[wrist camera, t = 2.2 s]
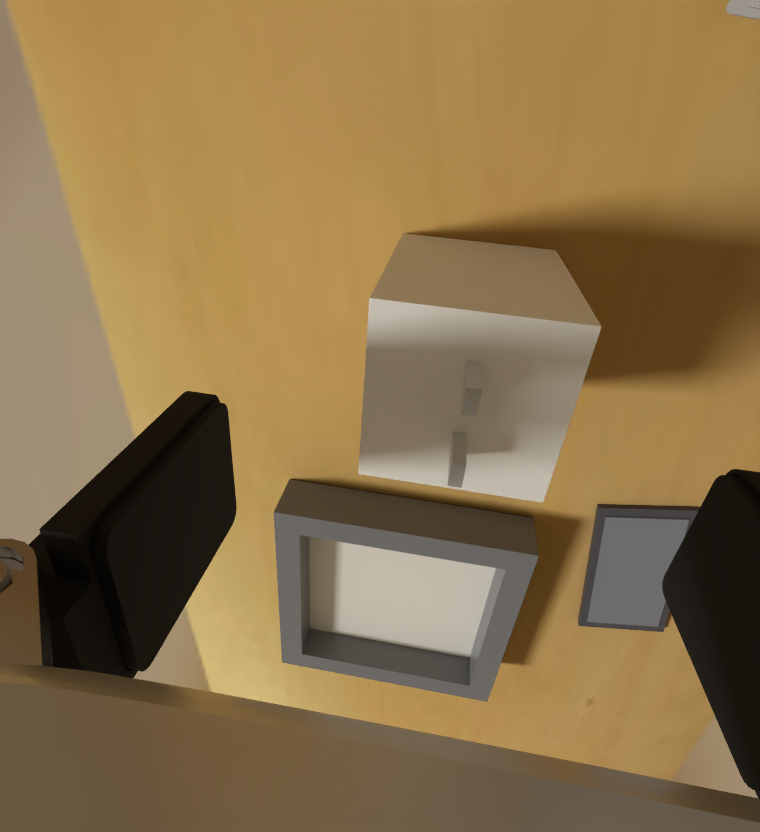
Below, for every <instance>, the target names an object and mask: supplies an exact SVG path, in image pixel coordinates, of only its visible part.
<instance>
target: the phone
mask: <svg viewBox="0 0 760 832" xmlns="http://www.w3.org/2000/svg"><path fill="white" fill-rule="evenodd" d="M698 511H699V508H698V507H692V506H651V505H611V504H597V509H596V515H595V521H594V527H593V533H592V539H591V546H590V552H589V558H588V564H587V570H586V576H585V582H584V588H583V594H582V600H581V606H580V612H579V618H578V624H579V626H589V627H603V628H617V629H631V630H645V631H659V632H663V631H664V628H665V625H666V621H667V618H668V615H669V612H670V609H669V607H668V605H667V602H666V600H665V598H664V595H663V590H662V582H663V578H664V575H665V573H666V571H667V569H668V567H669V566H670V564H671V562H672V560H673V558H674V556H675V554H676V552H677V550H678V549H679V547H680V545H681V543H682V541H683V539H684V537H685V535H686V534H687V532H688V530H689V528H690V526H691V524H692V522H693V520H694V519H695V517H696V515H697V513H698Z"/></svg>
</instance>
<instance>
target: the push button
mask: <svg viewBox="0 0 760 832" xmlns="http://www.w3.org/2000/svg"><path fill="white" fill-rule="evenodd" d="M726 9H727V13H728V14H731V15H736V16H741V17H746V18H752V19H758V18H760V0H730V1H729V3H728V5H727V8H726Z"/></svg>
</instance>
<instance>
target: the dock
mask: <svg viewBox="0 0 760 832" xmlns="http://www.w3.org/2000/svg"><path fill="white" fill-rule="evenodd" d="M274 525H275V542H276V560H277V578H278V596H279V613H280V631H281V649H282V662H283V663H289V664H294V665H299V666H304V667H309V668H315V669H320V670H325V671H330V672H335V673H341V674H346V675H351V676H356V677H361V678H367V679H372V680H377V681H382V682H388V683H393V684H398V685H403V686H408V687H414V688H419V689H424V690H429V691H434V692H440V693H445V694H450V695H455V696H460V697H466V698H471V699H476V700H481V701H486V702H487V701H488V698H489V695H490V692H491V689H492V687H493V684H494V681H495V678H496V675H497V672H498V670H499V667H500V664H501V661H502V658H503V656H504V653H505V650H506V647H507V644H508V642H509V639H510V636H511V633H512V630H513V627H514V625H515V622H516V619H517V616H518V613H519V611H520V608H521V605H522V602H523V599H524V597H525V594H526V591H527V588H528V585H529V583H530V580H531V577H532V574H533V571H534V568H535V566H536V563H537V560H538V557H539V553H538V546H537V540H536V533H535V527H534V521H533V518H531V517H525V516H519V515H512V514H506V513H500V512H494V511H487V510H481V509H475V508H468V507H462V506H456V505H449V504H443V503H437V502H430V501H424V500H418V499H411V498H405V497H399V496H392V495H386V494H380V493H373V492H367V491H361V490H355V489H348V488H342V487H336V486H329V485H323V484H317V483H310V482H304V481H298V480H291V479H290V480H289V482H288V484H287V486H286V488H285V490H284V492H283V494H282V496H281V498H280V500H279V502H278V504H277V507H276V509H275V511H274Z"/></svg>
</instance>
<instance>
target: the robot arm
mask: <svg viewBox="0 0 760 832" xmlns="http://www.w3.org/2000/svg"><path fill="white" fill-rule="evenodd" d="M235 515H236V496H235V485H234V474H233V463H232V452H231V441H230V430H229V418H228V409H227V406H226V405H225V404H224V403H220V401H219V399H218V397H217V396H216V395H212V394H205V393H198V392H191V391H186V392H185V393H183V394H182V395H181V396H180V397H179V398H178V399H177V400H176V401H175V402H174V403H173V404H172V405H170V406H169V407H168V408H167V409H166V410H165V411H164V412H163V413H162V414H161V415H160V416H159V417H158V418H157V419H156V420H155V421H154V422H152V423H151V424H150V425H149V426H148V427H147V428H146V429H145V430H144V431H143V432H142V433H141V434H140V435H139V436H138V437H137V438H136V439H134V440H133V441H132V442H131V443H130V444H129V445H128V446H127V447H126V448H125V449H124V450H123V451H122V452H121V453H120V454H119V455H118V456H116V457H115V458H114V459H113V460H112V461H111V462H110V463H109V464H108V465H107V466H106V467H105V468H104V469H103V470H102V471H101V472H100V473H98V474H97V475H96V476H95V477H94V478H93V479H92V480H91V481H90V482H89V483H88V484H87V485H86V486H85V487H84V488H83V489H82V490H80V492H78V493H77V494H76V495H75V496H74V497H73V498H72V499H71V500H70V501H69V502H68V503H67V504H66V505H65V506H64V507H63V508H61V509H60V510H59V511H58V512H57V513H56V514H55V515H54V516H53V517H52V518H51V519H50V520H49V521H48V522H47V523H46V524H45V525H43V526H42V527H41V528H40V534H39V535H38V536H37V537H36V538H35V539H34V540H33V541H32V542H31V543H30V544H29V545H28V544H26V543H25V542H22V541H18V540H14V539H0V832H760V472H753V471H746V470H739V469H734V470H731V471H729V472H728V473H727V474H726V475H721V476H719V477H718V478H716V480H715V481H714V483H713V485H712V487H711V488H710V490H709V492H708V494H707V496H706V498H705V500H704V502H703V503H702V505H701V507H700V509H699V511H698V513H697V515H696V517H695V519H694V520H693V522H692V524H691V526H690V528H689V530H688V532H687V534H686V535H685V537H684V539H683V541H682V543H681V545H680V547H679V549H678V550H677V552H676V554H675V556H674V558H673V560H672V562H671V564H670V566H669V567H668V569H667V571H666V573H665V575H664V578H663V582H662V590H663V595H664V598H665V600H666V602H667V605H668V607H669V609H670V612H671V614H672V616H673V619H674V621H675V623H676V626H677V628H678V630H679V633H680V635H681V637H682V640H683V642H684V644H685V647H686V649H687V651H688V654H689V656H690V658H691V661H692V663H693V665H694V668H695V670H696V672H697V675H698V677H699V679H700V682H701V684H702V686H703V689H704V691H705V693H706V696H707V698H708V700H709V703H710V705H711V707H712V709H713V712H714V714H715V716H716V719H717V721H718V723H719V726H720V728H721V730H722V733H723V735H724V737H725V740H726V742H727V744H728V747H729V749H730V751H731V754H732V756H733V758H734V761H735V763H736V765H737V768H738V770H739V772H740V775H741V776H742V778H743V780H744V782H745V783H746V784H747V786H748V787H750V788H752V789H753V790H755V791H756V794H757V796H758V798H759V799H758V798H753V797H748V796H743V795H738V794H733V793H728V792H723V791H718V790H713V789H708V788H703V787H698V786H693V785H688V784H683V783H678V782H673V781H668V780H663V779H658V778H653V777H648V776H643V775H638V774H633V773H628V772H623V771H619V770H614V769H609V768H604V767H598V766H593V765H588V764H583V763H578V762H573V761H568V760H563V759H558V758H553V757H547V756H542V755H537V754H532V753H527V752H522V751H517V750H512V749H507V748H501V747H496V746H491V745H486V744H481V743H476V742H471V741H465V740H460V739H455V738H450V737H445V736H440V735H435V734H429V733H424V732H419V731H414V730H409V729H404V728H398V727H393V726H388V725H383V724H378V723H373V722H367V721H362V720H357V719H352V718H346V717H341V716H336V715H330V714H325V713H320V712H315V711H309V710H304V709H299V708H293V707H288V706H283V705H278V704H272V703H267V702H262V701H256V700H251V699H246V698H241V697H235V696H230V695H225V694H219V693H214V692H209V691H204V690H198V689H192V688H186V687H180V686H174V685H169V684H163V683H157V682H151V681H145V680H139V679H133V678H134V676H135V675H136V673H137V671H144V670H146V669H147V668H148V667H149V666H150V665H151V663H152V662H153V660H154V658H155V657H156V655H157V653H158V651H159V650H160V648H161V646H162V645H163V643H164V641H165V639H166V638H167V636H168V634H169V632H170V631H171V629H172V627H173V626H174V624H175V622H176V621H177V619H178V617H179V615H180V614H181V612H182V610H183V609H184V607H185V605H186V603H187V602H188V600H189V598H190V597H191V595H192V593H193V591H194V590H195V588H196V586H197V585H198V583H199V581H200V579H201V578H202V576H203V574H204V573H205V571H206V569H207V567H208V566H209V564H210V562H211V561H212V559H213V557H214V555H215V554H216V552H217V550H218V549H219V547H220V545H221V543H222V542H223V540H224V538H225V537H226V535H227V533H228V531H229V530H230V528H231V526H232V524H233V522H234V519H235Z"/></svg>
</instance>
